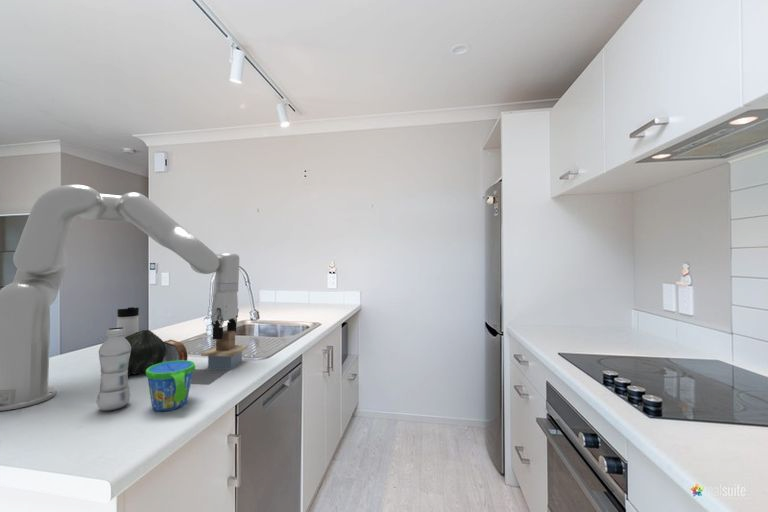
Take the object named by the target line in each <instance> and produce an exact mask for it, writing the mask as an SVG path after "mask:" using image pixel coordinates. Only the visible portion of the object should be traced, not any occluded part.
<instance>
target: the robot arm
mask: <svg viewBox="0 0 768 512" xmlns="http://www.w3.org/2000/svg"><path fill="white" fill-rule="evenodd" d="M77 218H78V219H79V218H80V219H83V220H90V221H105V222H120V223H121V222H123V223H124V222H125V223H127V222H128V223H131V224H132V225H134V226H136V227H137V228H138V229H139V230H141V231H142V232H143V233H144V234H145V235H146V236H148V237H149V238H151V239H152V240H153V241H154V242H156V243H157V244H159V245H161V246H162V247H163V248H166V249H168V250H170V251H172V252H173V253H175V254H176V255H178V256H179V257H180V258H182V259H183V260H184V261H185V262H187V263H188V264H189V266H190V268H191V270H192V271H194V272H195V273H197V274H202V275H210V274H213V273H215V277H214V279H215V281H214V282H215V283H214V293H213V294H214V295H213V299H212V305H211V314H210V315H211V316H210V319H211V320H210V321H211V324H212V326H211V327H212V339H213V340H216V339H223V331H224V327H223V325H224V323H225V322H227V321H228V322H227V328H226V331H235V334H236V333H237V325H238V324H237V322H238V318H239V310H240V309H239V306H238V305H239V303H238V302H239V300H238V298H239V297H238V292H239V278H240V277H239V276H240V275H239V274H240V255H238V253H229V252H228V253H227V252H224V253H223V252H222V253H215V252H214V251H212V249H210V248H209V247H208V246H207V245H206V244H205V243H204V242H202V241H201V240H200V239H198V238H197V237H196V236H194V235H193V234H191V232H189V230H187V229H185V227H183V226H182V225H180V224H179V223H178V222H177V221H175V219H173V218H172V217H171V216H169V215H168V213H166V212H165V211H164V210H163V209H161V208H160V207H159V206H158V205H156V204H155V203H154V202H153V201H152V200H151V199H150V198H148V197H147V196H146V195H144V194H142V193H140V192H137V191H135V192H134V191H130V192H126V193H124V194H122V195H120V194H119V195H116V194H106V193H100V192H98V190H96V189H94V188H92V187H91V186H89V185H88V186H87V185H84V184H77V183H76V184H63V185H59V186H57V187H52V188H51V189H49V190H47V191H45V192H44V193H42V194H41V195H40V196H39V197H38V198H37V200H35V202H34V204H33V205H32V208H31V209H30V212H29V215H28V218H27V219H26V223H25V225H24V228H23V230H22V232H21V235H20V239H19V241H18V243H17V246H16V248H15V251H14V253H13V257H12V260H13V264H14V265H15V267H16V273H15V275H14V278H13V281H12V282H10V283H8V284H7V285H5V286H4V287H2V288H0V412H1V411H10V410H16V409H20V408H26V407H29V406H33V405H37V404H39V403H42V402H45V401H47V400H50V399H51V398H53V397H55V396H56V394H57V389H56V388H54V387H50V386H49V375H50V373H49V372H50V371H49V369H50V347H51V344H50V342H51V341H50V340H51V336H50V335H51V316H50V315H51V314H50V313H51V312H50V311H51V306H52V304H54V303H55V301H56V299H57V297H58V294H59V290H60V288H61V284H62V281H63V278H64V274H65V271H66V269H67V265H68V257H69V256H68V254H67V252H66V250H65V249H66V248H65V247H66V244H67V241H68V238H69V236H70V233H71V229H72V225H73V223H74V221H75V219H77Z"/></svg>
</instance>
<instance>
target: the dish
mask: <svg viewBox="0 0 768 512" xmlns="http://www.w3.org/2000/svg"><path fill="white" fill-rule="evenodd" d="M242 357H243V351H242V352H240V353H238V354H237V355H235V356H233V357H232V356H207V369H219V370H231V369H234V367H236V366H238V365H239V364H241V362H242V361H243V358H242Z"/></svg>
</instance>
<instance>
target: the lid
mask: <svg viewBox="0 0 768 512" xmlns="http://www.w3.org/2000/svg"><path fill="white" fill-rule="evenodd" d="M248 348H249V346H248V344H247V345H246V344H236V333H235V331H227V330H223V339H215V346H212V347H211V348H209V349H207V350H204V351H202V352H201V353H200V356H201V357H208V356H232V357H233V356H235V355H237V354H238V353H240V352H242V353H243V352H244V351H245V350H247V349H248Z"/></svg>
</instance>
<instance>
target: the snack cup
mask: <svg viewBox="0 0 768 512" xmlns="http://www.w3.org/2000/svg"><path fill="white" fill-rule="evenodd" d="M194 369H196V364H195V362H194V361H192V360H188V359H187V360H176V361H168V362H162V363H158V364H155V365H152V366H150V367H149V368H147V369H146V374H145V377H146V379H147V381H148V389H149V397H150V403H151V408H152V409H153V410H155V411H157V412H161V411H164V412H169V411H173V410H176V409H179V408H180V407H182V406H184V405H185V404H187V402H188V399H189V398H188V397H189V394H190V387H191V385H192V384H191V378H192V373H193V371H194Z"/></svg>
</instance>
